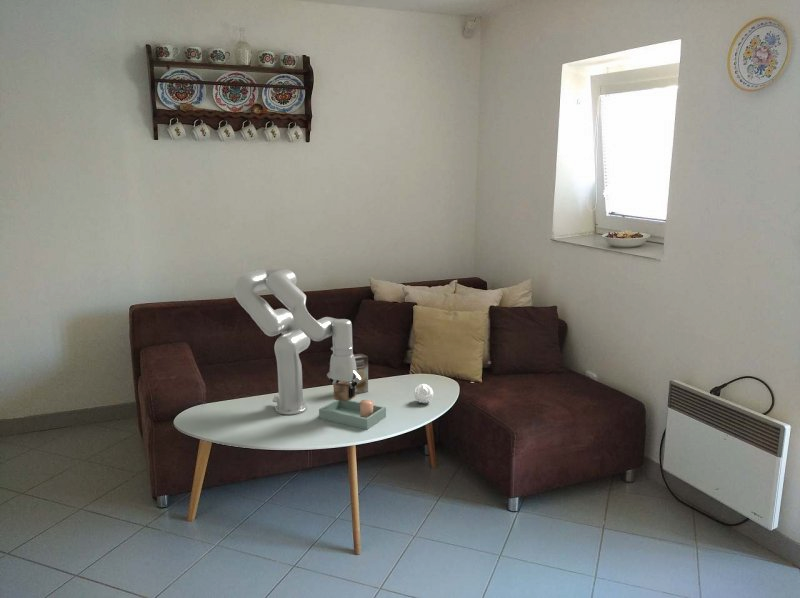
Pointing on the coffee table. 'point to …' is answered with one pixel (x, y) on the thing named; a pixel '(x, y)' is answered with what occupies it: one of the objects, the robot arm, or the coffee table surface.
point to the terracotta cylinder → (366, 408)
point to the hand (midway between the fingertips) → (344, 395)
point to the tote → (351, 414)
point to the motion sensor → (423, 393)
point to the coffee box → (361, 373)
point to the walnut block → (342, 391)
